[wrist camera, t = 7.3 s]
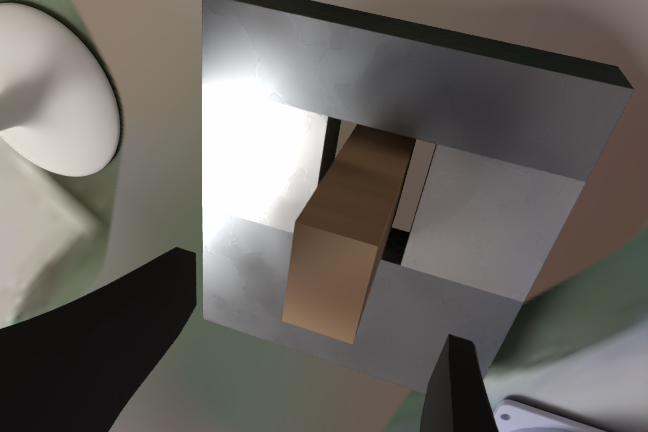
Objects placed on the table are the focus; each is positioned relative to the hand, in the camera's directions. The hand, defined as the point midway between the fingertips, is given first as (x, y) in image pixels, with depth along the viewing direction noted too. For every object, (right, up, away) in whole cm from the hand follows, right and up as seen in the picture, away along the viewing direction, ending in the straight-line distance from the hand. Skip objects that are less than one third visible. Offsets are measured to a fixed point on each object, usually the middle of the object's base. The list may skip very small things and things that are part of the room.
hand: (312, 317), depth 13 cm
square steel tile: (+2, +3, +9) cm, 10 cm away
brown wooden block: (+3, +5, +8) cm, 9 cm away
